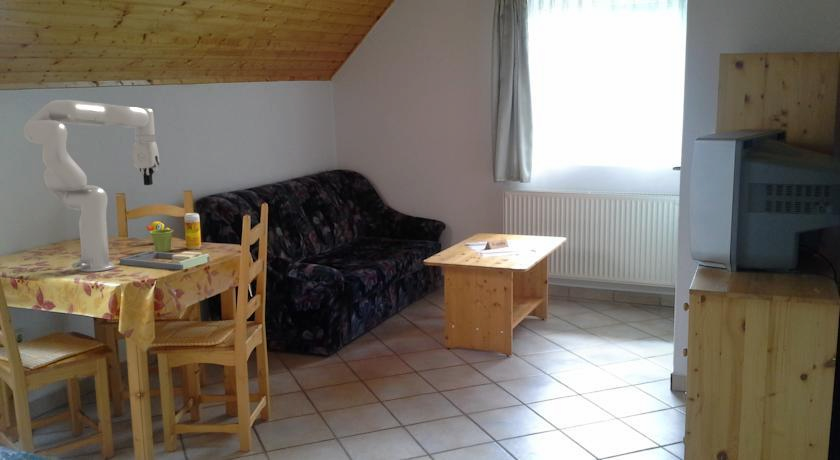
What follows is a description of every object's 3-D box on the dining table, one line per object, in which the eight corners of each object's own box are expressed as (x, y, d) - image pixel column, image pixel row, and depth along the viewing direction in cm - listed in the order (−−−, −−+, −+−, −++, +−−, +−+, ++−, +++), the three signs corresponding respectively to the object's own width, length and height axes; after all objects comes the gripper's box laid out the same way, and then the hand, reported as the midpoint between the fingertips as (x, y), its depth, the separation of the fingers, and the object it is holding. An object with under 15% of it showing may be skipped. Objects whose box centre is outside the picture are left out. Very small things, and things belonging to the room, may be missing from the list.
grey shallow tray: (181, 270, 287) (180, 262, 286) (119, 263, 298) (119, 256, 298) (209, 261, 301) (208, 254, 301) (149, 255, 313) (149, 248, 313)
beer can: (184, 249, 326) (182, 214, 323) (189, 247, 332) (187, 212, 329) (198, 249, 326) (196, 214, 323) (203, 247, 332) (201, 212, 329)
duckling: (151, 246, 335) (149, 223, 333) (144, 244, 338) (143, 222, 337) (174, 242, 343) (173, 220, 342) (167, 240, 347) (166, 219, 345)
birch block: (190, 266, 294) (190, 256, 293) (172, 265, 296) (172, 255, 295) (202, 262, 301) (202, 252, 300) (185, 261, 304) (184, 251, 303)
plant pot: (159, 254, 316) (158, 233, 315) (146, 251, 322) (145, 231, 321) (179, 250, 324) (177, 230, 322) (165, 248, 329) (164, 228, 328)
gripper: (124, 139, 306) (127, 185, 309) (153, 140, 300) (156, 186, 304) (137, 138, 313) (140, 183, 316) (166, 139, 307) (169, 184, 310)
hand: (148, 184), depth 310 cm, fingers closed
